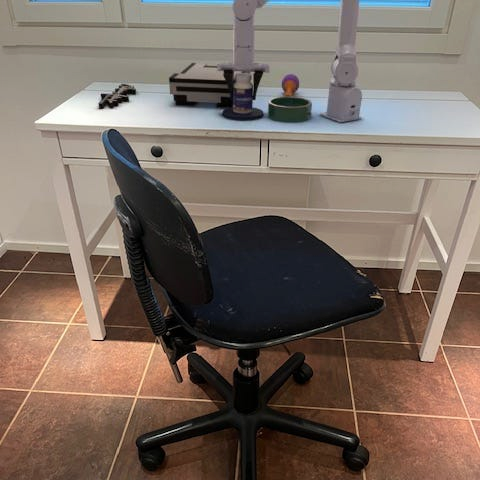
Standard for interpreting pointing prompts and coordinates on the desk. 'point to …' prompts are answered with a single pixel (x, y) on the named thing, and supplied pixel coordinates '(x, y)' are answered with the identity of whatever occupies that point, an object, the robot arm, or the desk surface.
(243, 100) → the pill bottle
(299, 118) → the ring
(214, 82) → the game console
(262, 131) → the desk surface
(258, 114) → the navy blue disc
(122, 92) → the dark jagged flat part
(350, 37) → the robot arm
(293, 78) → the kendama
